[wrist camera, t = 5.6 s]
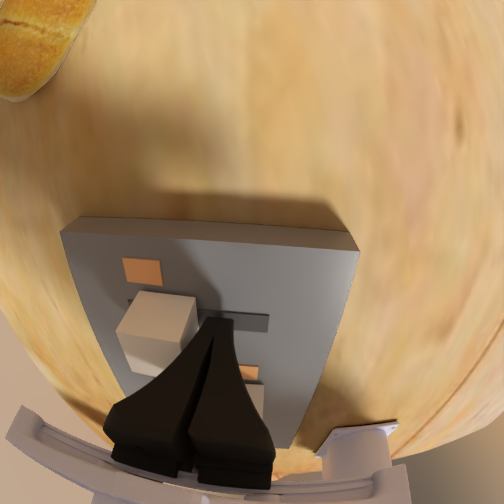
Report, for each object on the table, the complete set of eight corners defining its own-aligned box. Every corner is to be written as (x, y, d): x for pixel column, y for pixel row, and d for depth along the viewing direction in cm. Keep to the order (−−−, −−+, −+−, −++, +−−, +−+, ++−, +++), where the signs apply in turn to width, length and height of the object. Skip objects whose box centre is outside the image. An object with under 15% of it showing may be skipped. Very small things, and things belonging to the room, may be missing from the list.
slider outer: (200, 339, 15) (187, 382, 12) (149, 331, 15) (131, 371, 12) (195, 297, 13) (179, 342, 11) (139, 290, 13) (115, 331, 11)
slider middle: (261, 406, 18) (258, 441, 15) (220, 402, 18) (214, 437, 15) (264, 385, 16) (262, 424, 14) (217, 380, 17) (210, 419, 14)
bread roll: (128, -27, 7) (89, -52, 4) (51, 111, 11) (1, 122, 8) (50, -36, 5) (13, -47, 2) (-7, 75, 9) (-48, 83, 6)
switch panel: (288, 432, 25) (288, 449, 23) (151, 415, 25) (146, 430, 23) (349, 232, 13) (360, 252, 12) (79, 216, 14) (58, 232, 12)
